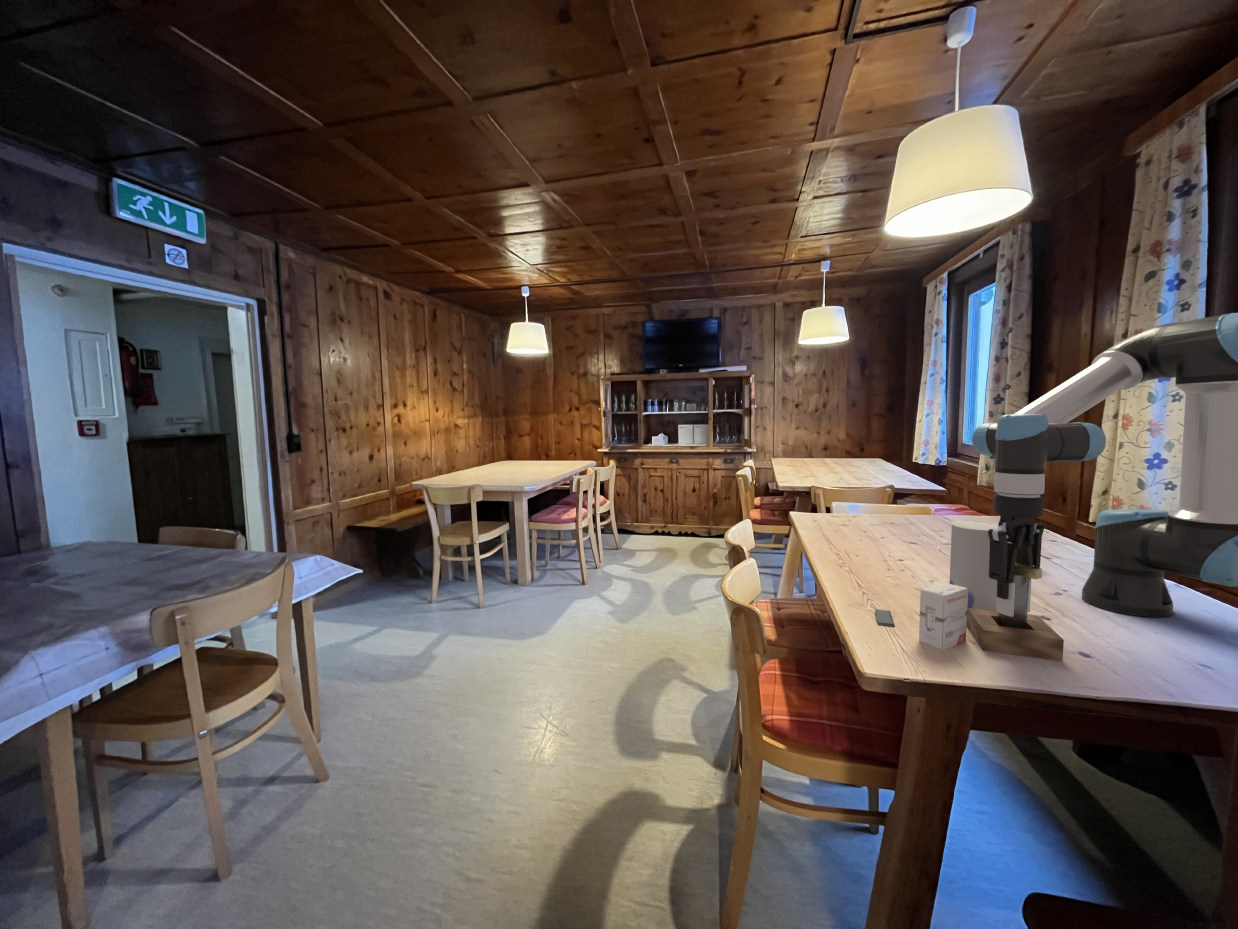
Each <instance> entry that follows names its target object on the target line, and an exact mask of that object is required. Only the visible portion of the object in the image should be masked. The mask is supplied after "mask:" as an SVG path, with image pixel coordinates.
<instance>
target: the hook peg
mask: <svg viewBox="0 0 1238 929" xmlns="http://www.w3.org/2000/svg"><path fill="white" fill-rule="evenodd" d="M1042 572H1043V568H1041V567H1040V568H1037V567H1032V566H1028V565H1024V564H1019V563H1015V568H1014V573H1013V579H1012V583H1015V597H1014V616H1012V617H1010V616H1007V615H1004V614H1001V613H999V615H998V626H1002V627H1010V628H1019V629H1027V614H1028V612H1027V611H1028V591H1029V578H1031V580H1032V579H1033V580H1036V579H1037V580H1039V579H1042Z"/></svg>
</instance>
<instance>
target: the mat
mask: <svg viewBox="0 0 1238 929" xmlns="http://www.w3.org/2000/svg"><path fill="white" fill-rule="evenodd" d="M874 613H875V616H876V621H877V625H879V626H885V627H894V628H895V627H896V625H895V622H894V618H893V616H892V613H891V611H890V610H886V609H885V610H884V609H878V608H877V609H876V608H875V609H874Z"/></svg>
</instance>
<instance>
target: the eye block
mask: <svg viewBox="0 0 1238 929" xmlns="http://www.w3.org/2000/svg"><path fill="white" fill-rule="evenodd" d="M998 615H999V613H998V612H996V611H992V610H982V609H973V608H967V628H966V629H967V630H968V631H969V633H971V635H972V637H973V639H974V640H975V641H976V643H977V644H978V645H979V646H978V647H980V648H981V650H982V651H983V652H991V653H997V654H1004V655H1013V656H1019V657H1026V658H1027V657H1028V658H1033V659H1043V660H1048V661H1049V660H1051V661H1055V662H1063V659H1064V642H1065V640H1064V638H1062V637H1061V635H1059V634H1058V633H1057V632H1056V631H1055V630H1054V629H1053V628H1052V627H1051V626H1049V624H1048V623H1046V622H1045V621H1044V620H1043V619H1042V618H1041V617H1040V616H1039V615H1036V614H1030V613H1029V614H1028V613H1027V629H1019V628H1010V627H1002V626H998Z"/></svg>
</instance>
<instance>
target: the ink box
mask: <svg viewBox="0 0 1238 929" xmlns="http://www.w3.org/2000/svg"><path fill="white" fill-rule="evenodd" d="M919 595H920V596H919V625H918V626H919V631H918V632H919V633H918V641H919V642H921V643H924V644H925V645H929V646H931V647H933V648H936V649H938V650H942V651H944V650H946V649H949V648H952V647H953V646H956V645H959V644H960V643H963V642H965V641H967V629H968V628H967V606H968V589H967V588H965V587H961V586H957V585H952V584H950V583H947V582H942V583H939V584H936V585H932V586H929V587H926V588H923V589H922V588H921V589H920V594H919Z"/></svg>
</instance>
